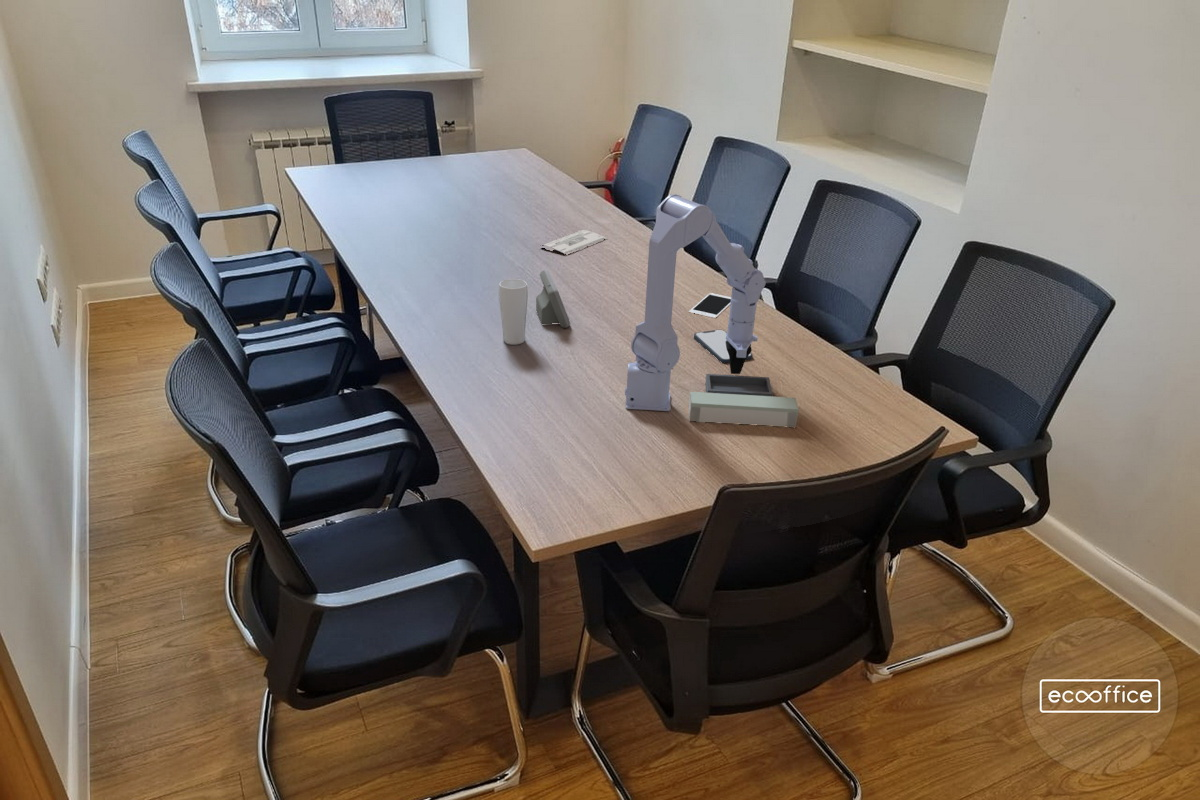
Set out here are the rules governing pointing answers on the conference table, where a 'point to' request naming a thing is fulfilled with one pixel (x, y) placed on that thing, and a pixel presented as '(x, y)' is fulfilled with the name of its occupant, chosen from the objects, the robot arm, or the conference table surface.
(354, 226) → the conference table surface
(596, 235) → the newspaper
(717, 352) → the smartphone
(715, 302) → the cell phone
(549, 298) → the digital clock
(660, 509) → the conference table surface
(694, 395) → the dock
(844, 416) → the conference table surface
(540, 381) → the conference table surface
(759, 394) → the shell tray
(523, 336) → the drinking glass
